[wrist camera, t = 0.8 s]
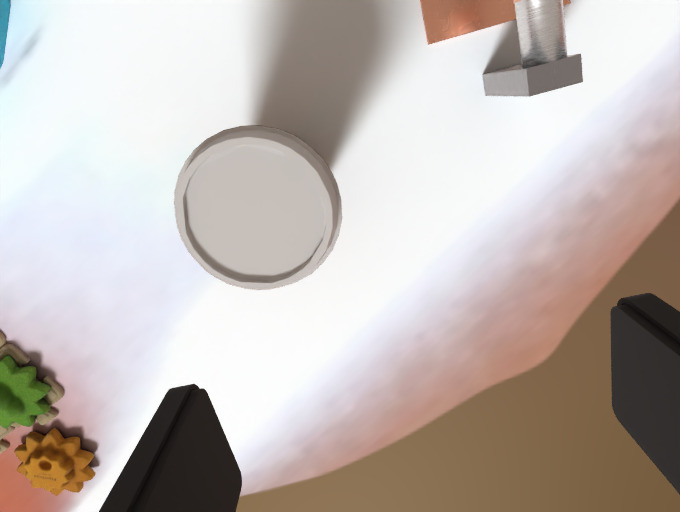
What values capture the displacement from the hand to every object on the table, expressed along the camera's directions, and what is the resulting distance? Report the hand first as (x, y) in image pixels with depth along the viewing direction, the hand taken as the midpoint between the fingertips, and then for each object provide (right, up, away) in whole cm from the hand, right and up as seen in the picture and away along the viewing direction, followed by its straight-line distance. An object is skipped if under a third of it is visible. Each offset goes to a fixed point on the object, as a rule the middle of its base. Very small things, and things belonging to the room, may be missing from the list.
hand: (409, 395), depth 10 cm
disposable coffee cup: (-6, +9, +25) cm, 28 cm away
